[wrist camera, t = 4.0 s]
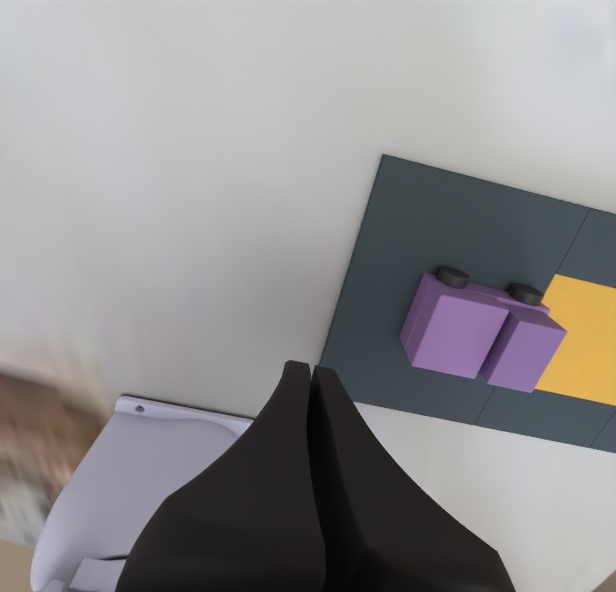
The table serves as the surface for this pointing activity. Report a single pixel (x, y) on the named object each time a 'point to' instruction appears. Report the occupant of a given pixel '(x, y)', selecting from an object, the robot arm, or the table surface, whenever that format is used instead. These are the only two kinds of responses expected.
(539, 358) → the toy truck
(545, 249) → the play mat
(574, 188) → the table surface
